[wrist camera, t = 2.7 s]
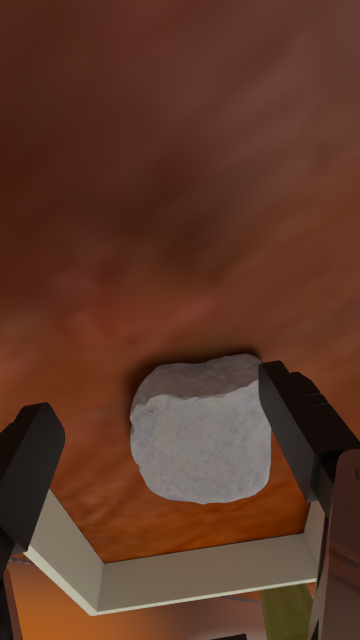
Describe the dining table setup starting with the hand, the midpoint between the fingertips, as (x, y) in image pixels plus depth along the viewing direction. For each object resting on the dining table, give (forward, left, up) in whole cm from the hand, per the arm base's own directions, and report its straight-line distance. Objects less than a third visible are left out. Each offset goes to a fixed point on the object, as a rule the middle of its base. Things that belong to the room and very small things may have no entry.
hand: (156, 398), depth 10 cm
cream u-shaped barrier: (+23, 0, -6) cm, 24 cm away
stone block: (+9, +1, -7) cm, 11 cm away
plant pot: (+45, +10, -6) cm, 46 cm away
